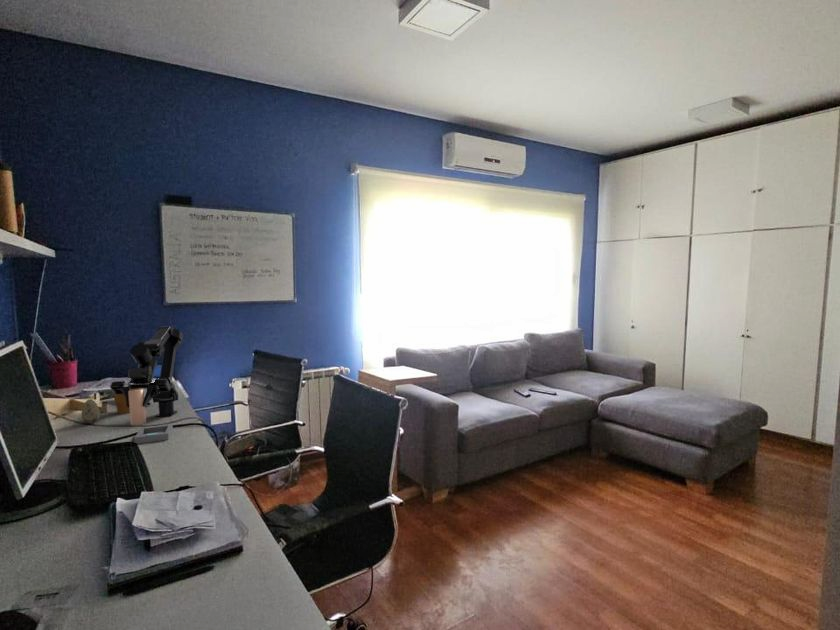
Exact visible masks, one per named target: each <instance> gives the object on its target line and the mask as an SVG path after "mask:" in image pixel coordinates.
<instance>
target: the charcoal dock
mask: <svg viewBox="0 0 840 630" xmlns="http://www.w3.org/2000/svg"><path fill="white" fill-rule="evenodd" d="M173 431H174V429H173V423H172V424H170V423H169V424H162V425H154V426H153V425H152V426H147V427H141V428H140V429H139V430H138V431H137V433H136V435H135V436H134V444H135V443H138V444H143V443H144V444H146V443H152V442H153V441H154V442H161V441H168V440H170V437H171V436H172V435H171V434H172V433H173ZM154 442H153V443H154Z"/></svg>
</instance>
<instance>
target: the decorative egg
mask: <svg viewBox="0 0 840 630" xmlns="http://www.w3.org/2000/svg"><path fill="white" fill-rule="evenodd" d="M100 415H101V412H100V408H99V405H98V404H97V402H96V401H95V400H94V399H87V400H86V401H85V402H84V403H83V405H82V410H81V419H82V421H83V422H84V423H86V424H93V423H96V422H97V421H98V419H99V418H100Z"/></svg>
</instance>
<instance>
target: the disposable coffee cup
mask: <svg viewBox="0 0 840 630" xmlns="http://www.w3.org/2000/svg"><path fill="white" fill-rule="evenodd" d="M129 384H133V383H130V382H129ZM111 393H113V398H114V402H115V406H116V411H117V414H118V415H119V414H120V415H122V414H130V409H129V408H128V407H127V404H126V397H125V395H124V394H119V395H117V394H115V393H114V392H113V391H112V390H111Z"/></svg>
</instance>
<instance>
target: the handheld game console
mask: <svg viewBox="0 0 840 630" xmlns="http://www.w3.org/2000/svg"><path fill="white" fill-rule="evenodd" d="M161 367H162V363H159V362H157V366H156V367H155V370H154V374H153V375H154V378H152V380H153V379H158V378H160V374H161Z"/></svg>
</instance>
